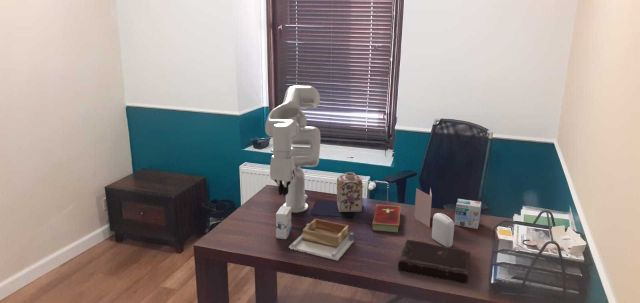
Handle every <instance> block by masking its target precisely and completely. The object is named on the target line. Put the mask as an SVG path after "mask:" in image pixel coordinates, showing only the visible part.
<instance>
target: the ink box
mask: <svg viewBox="0 0 640 303" xmlns="http://www.w3.org/2000/svg"><path fill="white" fill-rule="evenodd" d="M291 232H292V212H291V207H287V206H283V205H281V206H280V207H279V209H278V210H277V212H276V213H275V238H276V239H281V240H287V238H288V237H289V236H290V234H291Z"/></svg>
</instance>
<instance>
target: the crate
mask: <svg viewBox="0 0 640 303" xmlns="http://www.w3.org/2000/svg"><path fill="white" fill-rule="evenodd" d="M349 231H350V225H348V224H343V223H340V222H339V223H338V222H335V221H334V222H333V221H329V220H323V219H319V218H314V219H313V220H312V221H311V222H310V223H309V225H308V226H306V225H305V227H304V228H303V229H302V234H303V241H307V242H312V243H316V244H320V245H324V246H329V247H333V248H337V247H338V246H339V245H340V244H341V242H342V241H343V240H344V239H345V238H346V237H347V236H348V235H349V233H350V232H349Z"/></svg>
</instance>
